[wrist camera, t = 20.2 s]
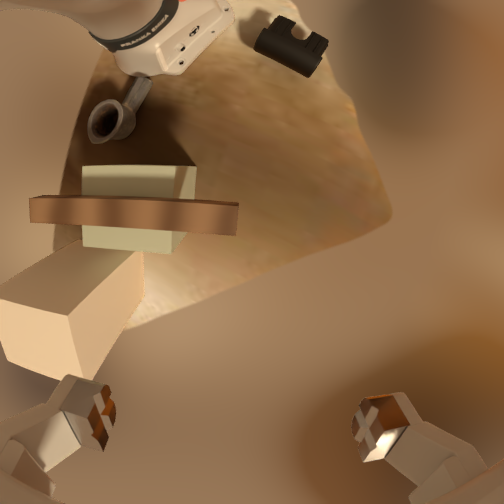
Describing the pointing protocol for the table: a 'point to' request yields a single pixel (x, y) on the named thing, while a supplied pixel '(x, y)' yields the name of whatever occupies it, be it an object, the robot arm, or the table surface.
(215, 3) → the robot arm
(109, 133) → the pipe
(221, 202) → the walnut bar
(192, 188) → the low stool
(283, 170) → the table surface
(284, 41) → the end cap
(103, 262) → the tall stand
